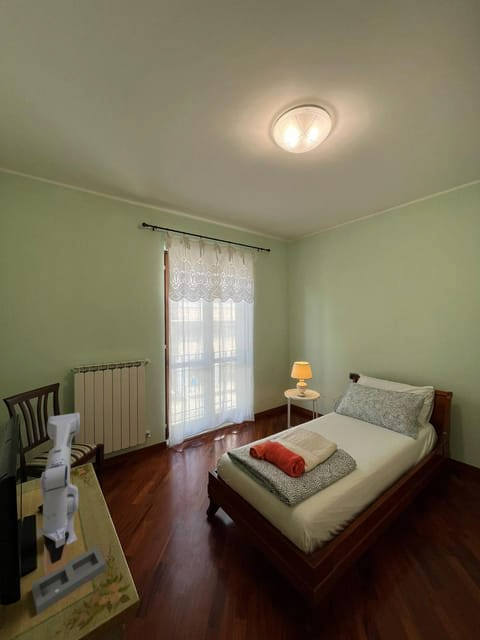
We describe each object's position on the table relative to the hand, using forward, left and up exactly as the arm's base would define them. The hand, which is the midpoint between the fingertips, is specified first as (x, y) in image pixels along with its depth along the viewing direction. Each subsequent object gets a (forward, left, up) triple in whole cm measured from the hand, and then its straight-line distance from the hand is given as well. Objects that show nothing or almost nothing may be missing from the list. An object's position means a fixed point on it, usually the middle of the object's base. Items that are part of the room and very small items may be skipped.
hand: (54, 556), depth 73 cm
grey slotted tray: (0, +4, -10) cm, 11 cm away
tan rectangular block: (0, 0, -3) cm, 3 cm away
